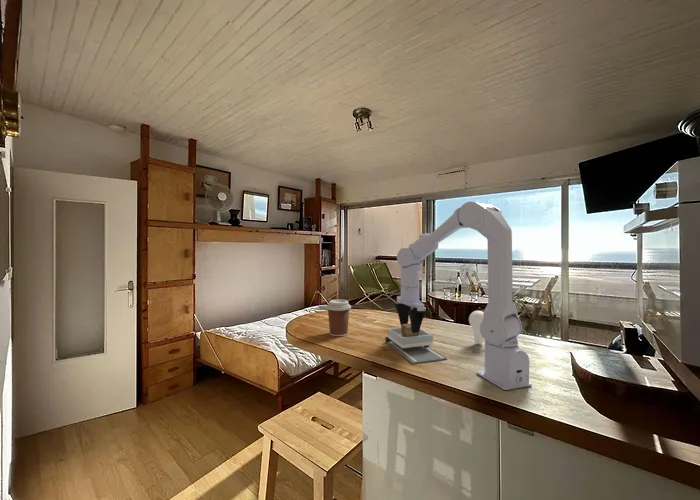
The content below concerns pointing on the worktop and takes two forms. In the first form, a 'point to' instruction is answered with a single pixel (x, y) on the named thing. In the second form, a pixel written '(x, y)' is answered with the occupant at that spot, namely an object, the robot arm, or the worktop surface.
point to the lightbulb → (476, 325)
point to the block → (407, 331)
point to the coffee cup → (338, 317)
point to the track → (416, 353)
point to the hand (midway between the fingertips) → (409, 328)
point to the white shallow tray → (410, 339)
